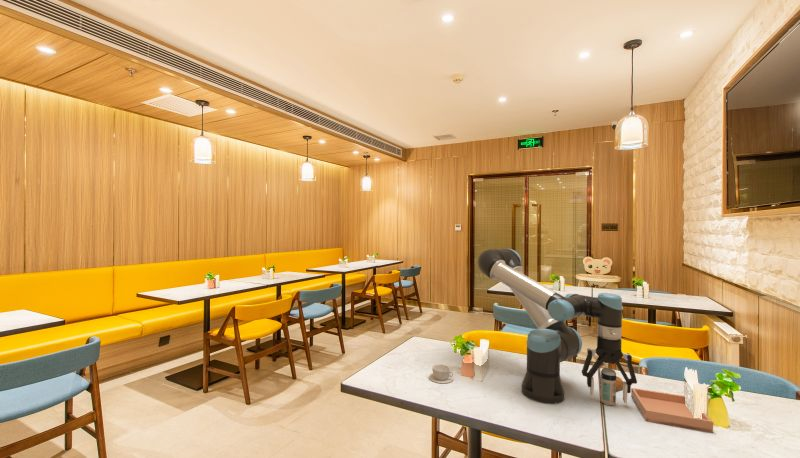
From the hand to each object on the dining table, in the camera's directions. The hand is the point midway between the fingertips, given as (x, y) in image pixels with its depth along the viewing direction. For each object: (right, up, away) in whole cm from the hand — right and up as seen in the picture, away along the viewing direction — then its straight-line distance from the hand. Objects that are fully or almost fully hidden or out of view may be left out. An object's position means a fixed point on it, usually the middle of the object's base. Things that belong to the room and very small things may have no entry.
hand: (608, 398), depth 125 cm
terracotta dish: (+17, -2, -6) cm, 18 cm away
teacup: (-58, -1, +18) cm, 61 cm away
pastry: (+10, -2, +13) cm, 17 cm away
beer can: (0, -2, 0) cm, 2 cm away
